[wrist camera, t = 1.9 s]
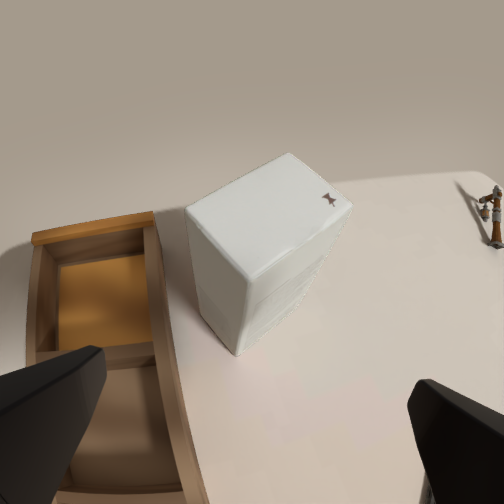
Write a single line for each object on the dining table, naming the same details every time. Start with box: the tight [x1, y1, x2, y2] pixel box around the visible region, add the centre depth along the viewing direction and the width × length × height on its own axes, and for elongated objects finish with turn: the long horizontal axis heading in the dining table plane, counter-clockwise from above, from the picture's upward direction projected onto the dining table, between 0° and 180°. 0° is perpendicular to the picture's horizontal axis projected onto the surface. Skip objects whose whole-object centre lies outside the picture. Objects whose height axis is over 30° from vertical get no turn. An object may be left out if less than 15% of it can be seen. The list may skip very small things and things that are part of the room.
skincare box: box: [184, 153, 353, 357], centre depth 17 cm, size 6×4×12 cm
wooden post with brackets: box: [479, 185, 504, 249], centre depth 30 cm, size 2×8×4 cm, turn 168°
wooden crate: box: [26, 211, 210, 504], centre depth 15 cm, size 27×10×5 cm, turn 13°
